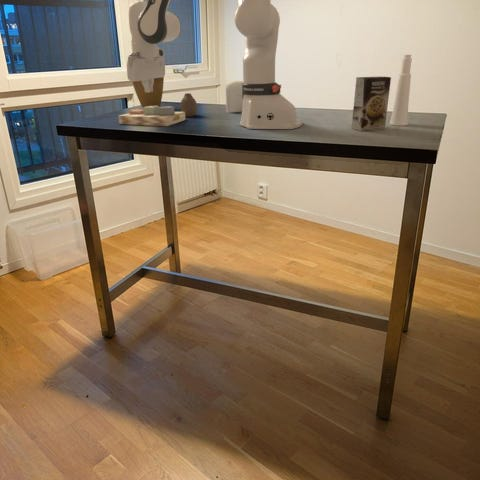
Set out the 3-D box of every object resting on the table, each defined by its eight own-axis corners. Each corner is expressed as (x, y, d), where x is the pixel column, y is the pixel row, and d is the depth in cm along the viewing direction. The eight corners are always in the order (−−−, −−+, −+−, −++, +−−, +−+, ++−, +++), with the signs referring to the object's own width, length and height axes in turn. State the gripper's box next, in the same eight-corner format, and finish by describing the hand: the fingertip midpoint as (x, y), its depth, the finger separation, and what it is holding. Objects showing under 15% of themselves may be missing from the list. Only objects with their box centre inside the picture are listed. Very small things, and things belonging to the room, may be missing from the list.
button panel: (185, 119, 167) (184, 111, 166) (167, 126, 156) (166, 117, 154) (140, 117, 175) (139, 110, 173) (119, 123, 163) (118, 115, 162)
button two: (174, 114, 163) (173, 106, 161) (168, 116, 159) (168, 107, 158) (164, 114, 164) (163, 105, 163) (158, 116, 161) (157, 107, 159)
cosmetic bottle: (398, 126, 143) (407, 55, 133) (385, 123, 148) (393, 55, 138) (411, 124, 145) (421, 54, 136) (398, 122, 150) (407, 54, 141)
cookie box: (361, 131, 137) (366, 78, 130) (351, 128, 143) (355, 76, 136) (385, 129, 139) (392, 76, 133) (374, 125, 145) (380, 75, 138)
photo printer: (228, 113, 179) (226, 82, 173) (225, 112, 182) (223, 81, 177) (251, 111, 181) (250, 80, 176) (247, 110, 185) (247, 80, 180)
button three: (160, 114, 165) (159, 105, 164) (154, 116, 161) (153, 107, 160) (150, 113, 167) (149, 105, 165) (144, 115, 163) (143, 107, 162)
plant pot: (145, 106, 205) (141, 71, 198) (172, 107, 200) (169, 70, 193) (128, 111, 192) (123, 73, 185) (157, 112, 187) (153, 73, 181)
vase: (195, 117, 172) (193, 94, 168) (178, 117, 173) (176, 94, 170) (199, 114, 178) (198, 92, 174) (184, 114, 180) (182, 92, 176)
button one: (146, 117, 168) (145, 109, 167) (140, 119, 164) (139, 111, 163) (137, 117, 169) (136, 109, 168) (130, 119, 166) (129, 110, 164)
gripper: (135, 53, 145) (140, 95, 151) (166, 51, 162) (169, 89, 168) (120, 53, 147) (125, 95, 153) (152, 51, 164) (156, 89, 170)
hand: (148, 92), depth 160 cm, fingers closed
